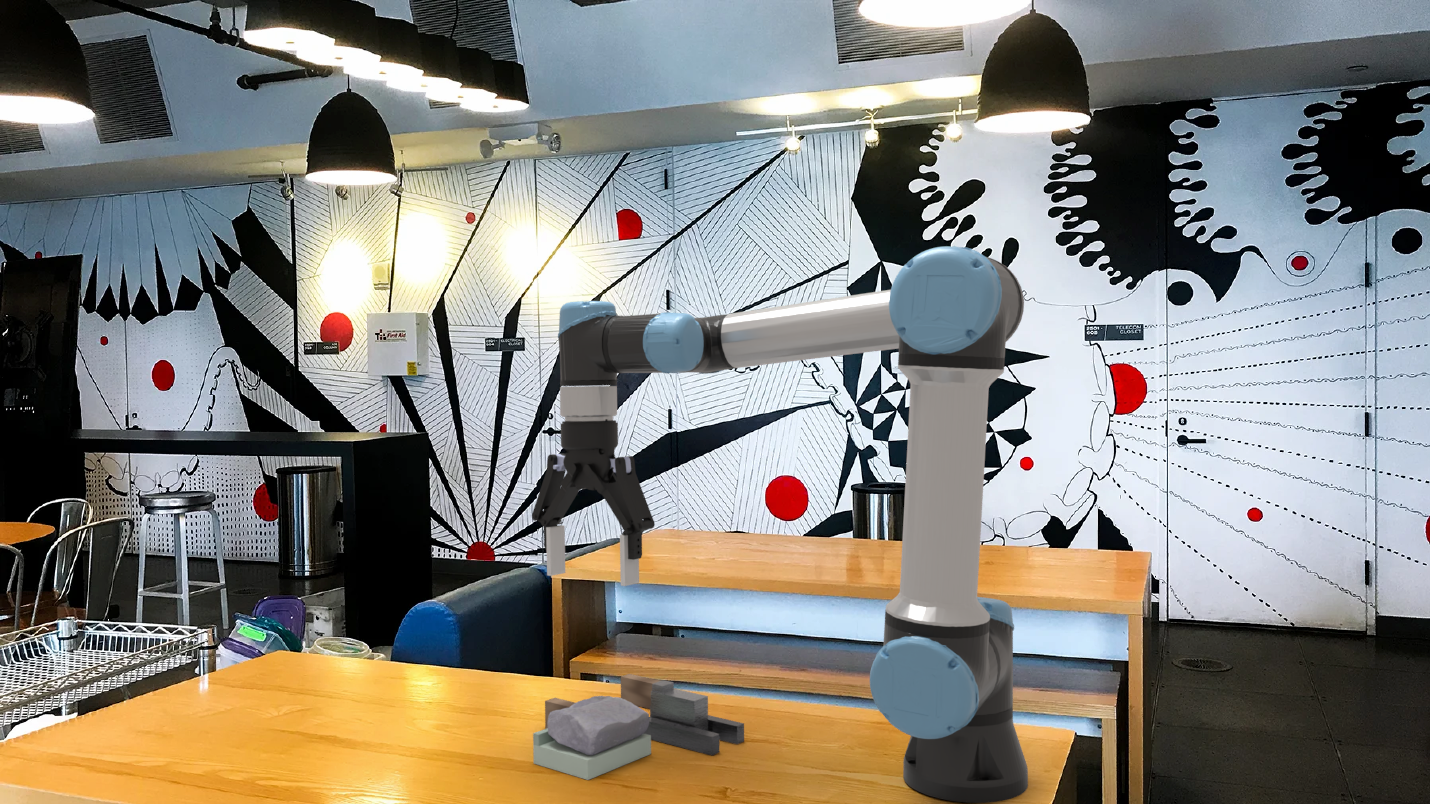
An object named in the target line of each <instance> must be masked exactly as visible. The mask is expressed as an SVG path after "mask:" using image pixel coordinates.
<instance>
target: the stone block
mask: <svg viewBox="0 0 1430 804" xmlns="http://www.w3.org/2000/svg"><path fill="white" fill-rule="evenodd" d="M649 717H650V713H648V712H647V711H645V710H644V709H642V707H640V706H635V705H634V704H633V703H631V702H629V701H627V700H625V699H622V698H621V696H620V697H618V696H614V697H613V696H610V695H605V696H604V695H597V696H596V695H595V696H594V695H593V696H592V697H590V698H585V699H581V700H579V701H577V702H575V703H574V704H573V705H572V706H570V707H569V708H564V709H561V710H555V711H552V712H550V714H549V717H548V721H547V725H548V734H549V735H550V736H551V737H552V738H554V739H555V740H556V741H557V743H560V744H563V745H565V746H568V747H571V748H573V749H575V750H577V751H580V752H582V753H585V754H587V755H595V754H598V753H600V752H603V751H605V750H608V749H610V748H613V747H615V746H617V745H620V744H623V743H625V742H626V741H629V740H632V739H635V738H637V737H639V736H641V735H642V734H644V733H645V732H646V731H647V729H648V726H649Z"/></svg>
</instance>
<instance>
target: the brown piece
mask: <svg viewBox="0 0 1430 804" xmlns="http://www.w3.org/2000/svg"><path fill="white" fill-rule="evenodd" d="M659 681H661V680H660V679H655V678H650V677H645V676H642V675H635V674H633V673H628V674H625V675H622V676H620V698H622V699H625V700H627V701H629V702H631V703H633V704H634V705H635V706H638V707H639V708H644V709H648V710H650V706H651V691H652V684H653V683H656V682H659ZM574 703H576V702H574V701H571V700H567V699H563V698H558V697H552V698H550V699H547V700H545V701H544V708H545V709H544V714H545V715H544V716H545V717H544V721H545V722H544V725H545V726H544V728H545V729H547V728H548V725H547V721H548V717H549V714H550V712H552V711H555V710H561V709H564V708H569V707H570V706H572V705H573V704H574Z"/></svg>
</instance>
